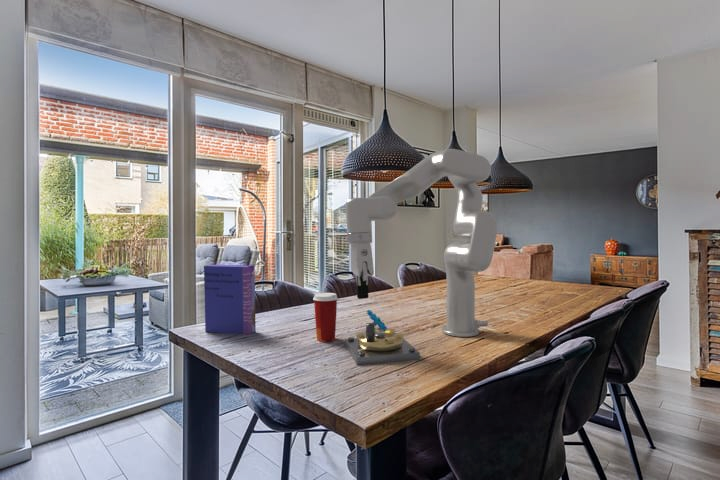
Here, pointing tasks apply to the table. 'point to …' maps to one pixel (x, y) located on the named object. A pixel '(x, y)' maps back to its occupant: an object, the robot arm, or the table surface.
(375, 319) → the gear
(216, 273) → the blue book
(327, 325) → the coffee cup
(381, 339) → the brass paddle wheel
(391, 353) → the base plate
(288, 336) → the table surface
